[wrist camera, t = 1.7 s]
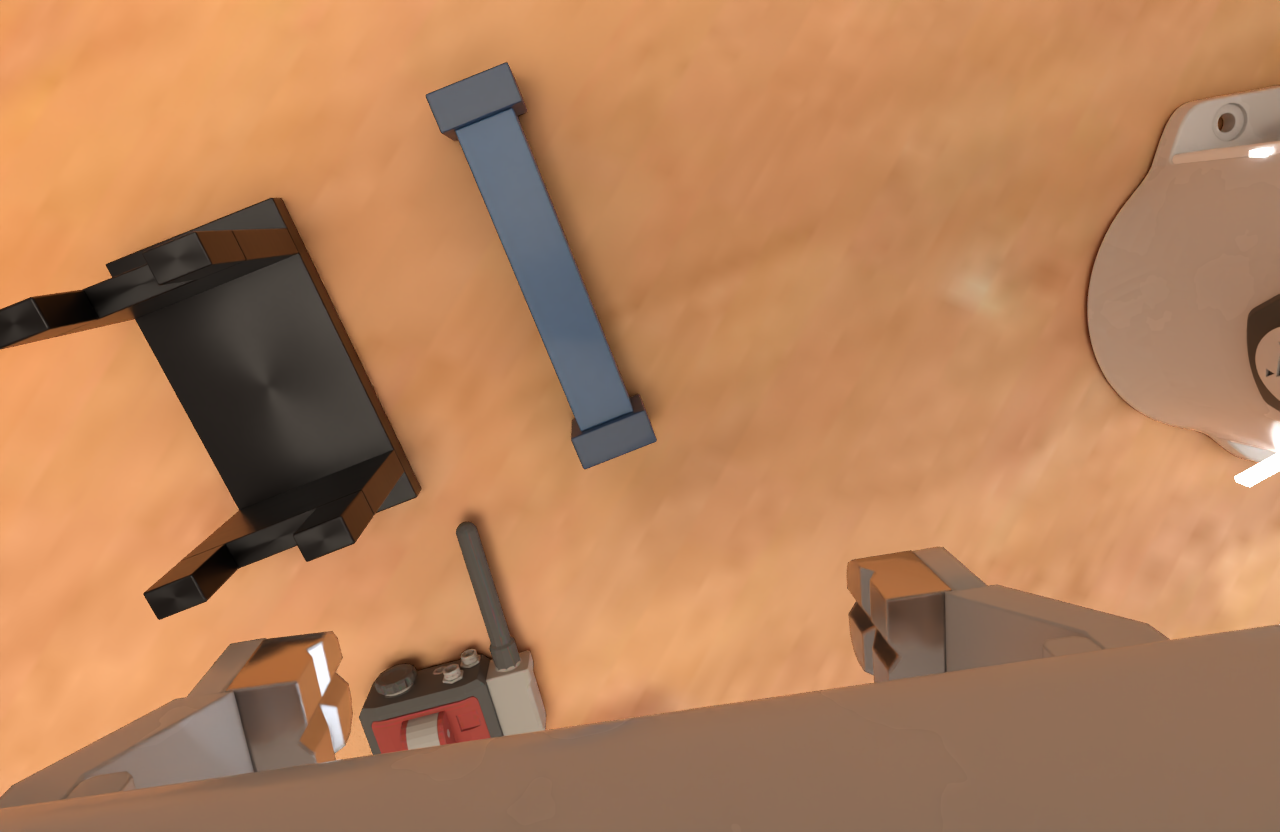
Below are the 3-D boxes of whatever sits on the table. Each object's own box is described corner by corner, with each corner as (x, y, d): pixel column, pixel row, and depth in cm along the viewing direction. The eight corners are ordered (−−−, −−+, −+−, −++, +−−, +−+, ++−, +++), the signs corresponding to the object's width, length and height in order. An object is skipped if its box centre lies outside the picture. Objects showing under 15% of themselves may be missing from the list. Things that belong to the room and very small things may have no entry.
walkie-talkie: (588, 833, 46) (488, 507, 41) (589, 895, 42) (478, 541, 37) (436, 872, 46) (318, 551, 41) (421, 939, 42) (287, 589, 37)
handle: (513, 76, 37) (507, 61, 33) (650, 422, 41) (657, 441, 37) (439, 106, 37) (424, 94, 33) (583, 448, 41) (583, 470, 38)
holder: (281, 197, 37) (174, 190, 27) (421, 489, 41) (372, 575, 31) (119, 262, 37) (-46, 279, 28) (273, 547, 41) (176, 652, 31)
